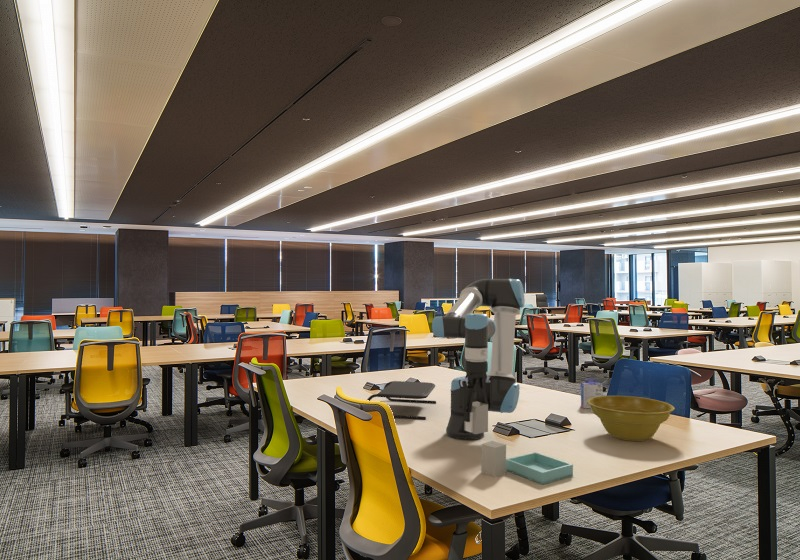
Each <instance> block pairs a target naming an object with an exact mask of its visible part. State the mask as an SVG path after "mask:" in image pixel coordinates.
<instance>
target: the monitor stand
mask: <svg viewBox="0 0 800 560" xmlns="http://www.w3.org/2000/svg"><path fill="white" fill-rule="evenodd" d="M435 388H436V384H435V383H433V382H428V381H427V382H424V381H423V382H422V381H404V380H403V381H401V380H399V381H397V380H392V381H389V382H387V383H386V384H385V385H384V387H383V389H381V390H380V391H379V392H378V393H374V394H371V395H369V397H368V398H367V399H366V401H367V400H369V401H371V400H372V399H373V398H385V399H387V400H388V401H390V402H398V403H400V402H401V403H415V404H417V403H418V404H419V403H420V404H435V405H436V404H437V401H436V400H427V399H426V398H428V396H429V395H430V394H431V393H432V391H433V390H434V389H435ZM423 399H426V400H423ZM393 415H394V418H393V419H404V420H405V419H407V420H420V421H421V420H422V421H423V420H426V419H427V416H416V415H404V414H403V415H402V414H400V415H399V414H393ZM426 421H427V420H426Z"/></svg>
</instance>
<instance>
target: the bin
mask: <svg viewBox="0 0 800 560" xmlns="http://www.w3.org/2000/svg"><path fill="white" fill-rule="evenodd" d="M506 472H510V473H512V474H514V475H518V476H520V477H522V478H524V479H528V480H530V481H532V482H535V483H538V484H540V485H545V484H549V483H554V482H556V481H559V480H562V479H567V478H570V477H572V476H574V464H573V463H570V462H567V461H565V460H560V459H558V458H555V457H551V456H548V455H546V454H542V453H540V452H537V451H535V452H534V451H533V452H531V453H527V454H522V455H518V456H513V457H509V458H506Z"/></svg>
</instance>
